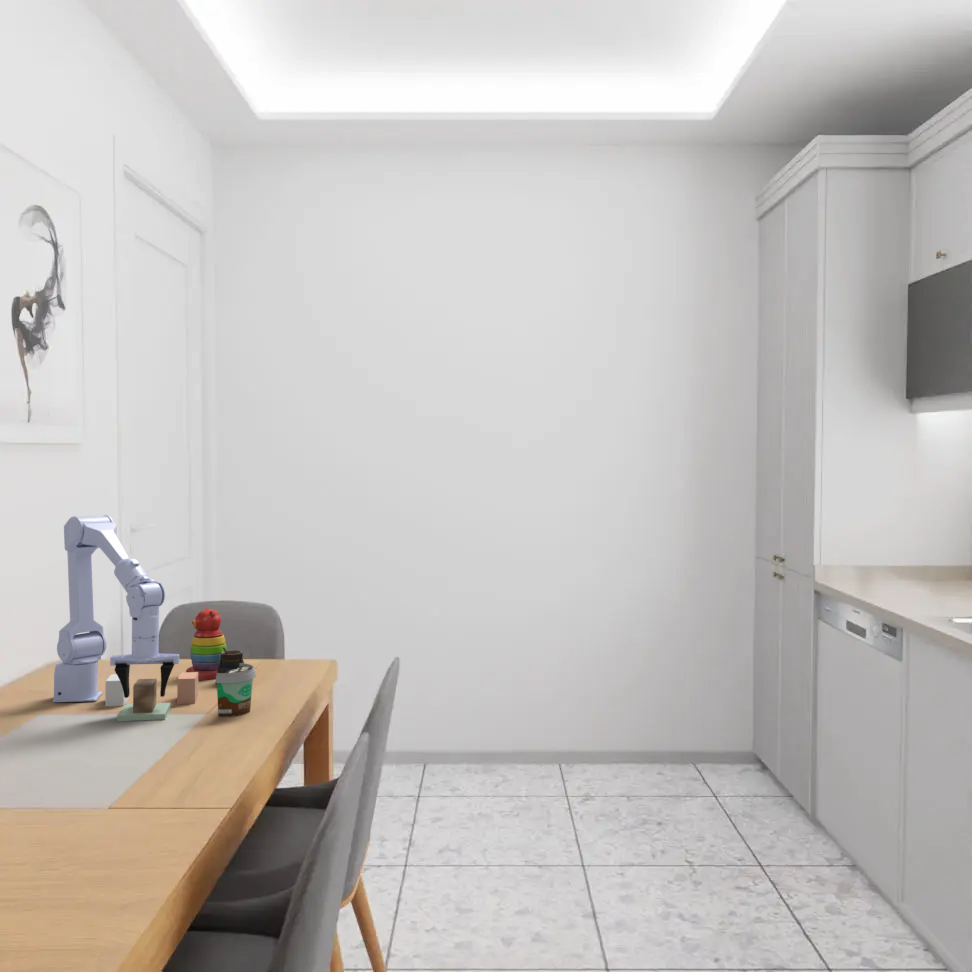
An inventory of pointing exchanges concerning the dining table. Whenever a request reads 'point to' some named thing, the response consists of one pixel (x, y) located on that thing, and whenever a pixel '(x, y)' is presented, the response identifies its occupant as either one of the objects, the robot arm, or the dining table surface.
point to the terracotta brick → (187, 688)
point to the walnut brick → (144, 695)
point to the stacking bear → (206, 645)
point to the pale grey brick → (114, 692)
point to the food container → (235, 690)
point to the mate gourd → (230, 660)
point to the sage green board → (157, 714)
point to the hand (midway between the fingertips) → (144, 696)
